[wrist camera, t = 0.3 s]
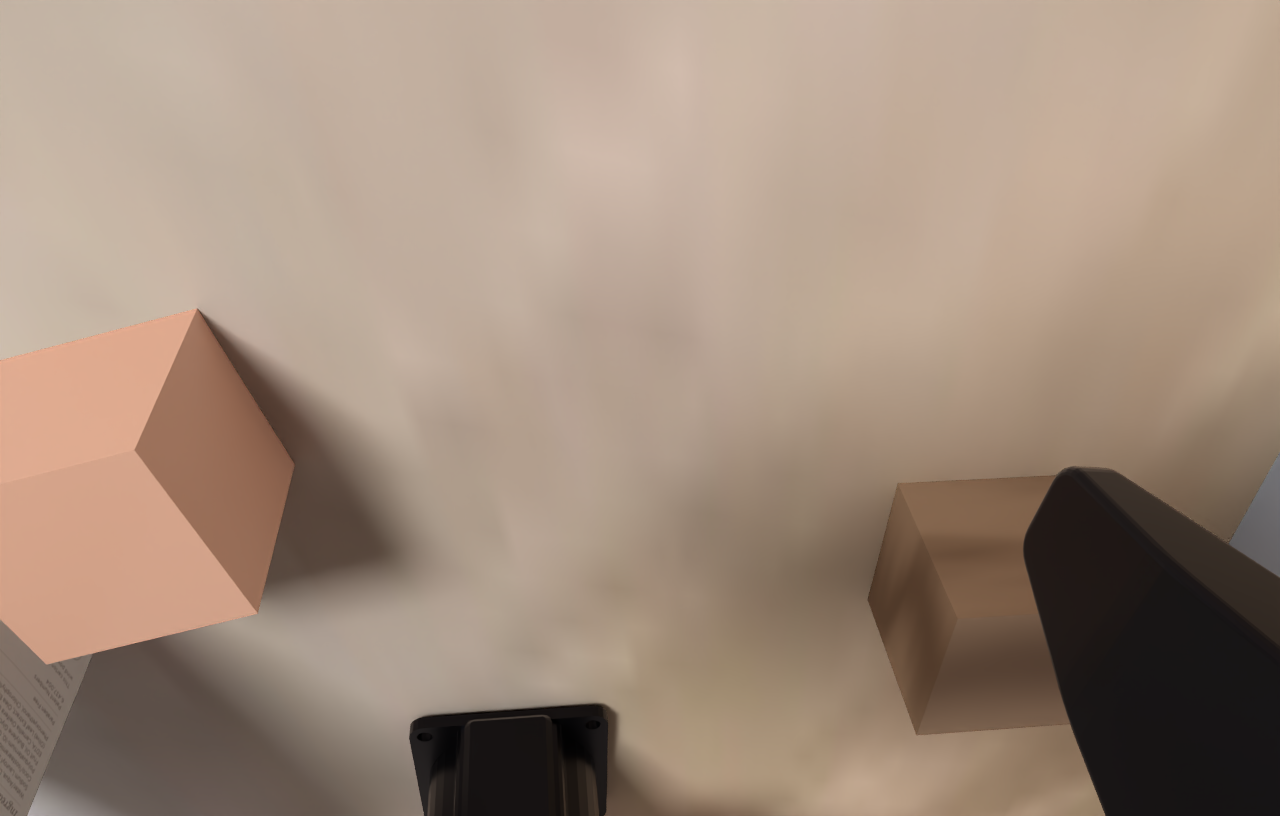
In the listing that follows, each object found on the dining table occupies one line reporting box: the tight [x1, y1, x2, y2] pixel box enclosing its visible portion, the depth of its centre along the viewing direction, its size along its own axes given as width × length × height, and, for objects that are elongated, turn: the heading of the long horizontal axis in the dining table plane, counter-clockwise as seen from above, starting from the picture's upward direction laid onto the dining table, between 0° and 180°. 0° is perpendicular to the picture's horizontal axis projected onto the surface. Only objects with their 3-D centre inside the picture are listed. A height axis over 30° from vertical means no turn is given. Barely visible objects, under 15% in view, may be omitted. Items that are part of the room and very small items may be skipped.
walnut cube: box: [868, 476, 1070, 735], centre depth 29 cm, size 5×5×5 cm
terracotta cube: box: [0, 309, 295, 665], centre depth 23 cm, size 5×5×5 cm
